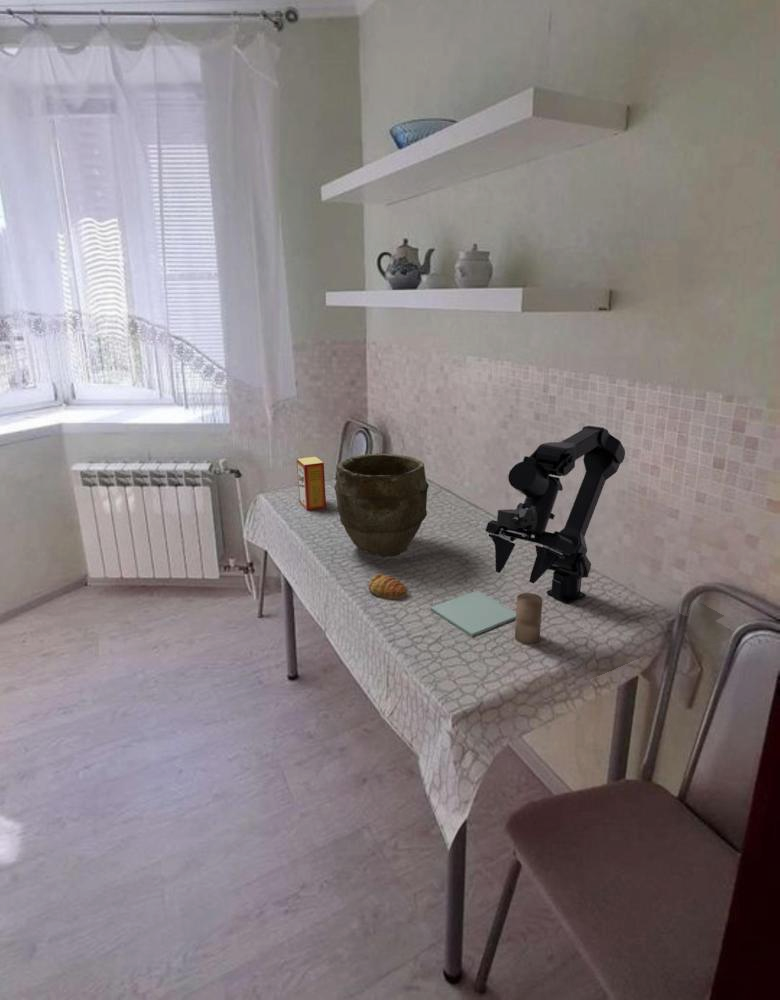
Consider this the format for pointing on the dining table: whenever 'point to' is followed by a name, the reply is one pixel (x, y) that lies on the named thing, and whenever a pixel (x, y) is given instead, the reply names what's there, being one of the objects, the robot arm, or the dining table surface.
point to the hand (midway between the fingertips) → (514, 577)
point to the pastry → (387, 587)
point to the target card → (474, 613)
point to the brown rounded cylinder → (528, 618)
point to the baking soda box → (311, 483)
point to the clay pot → (381, 501)
